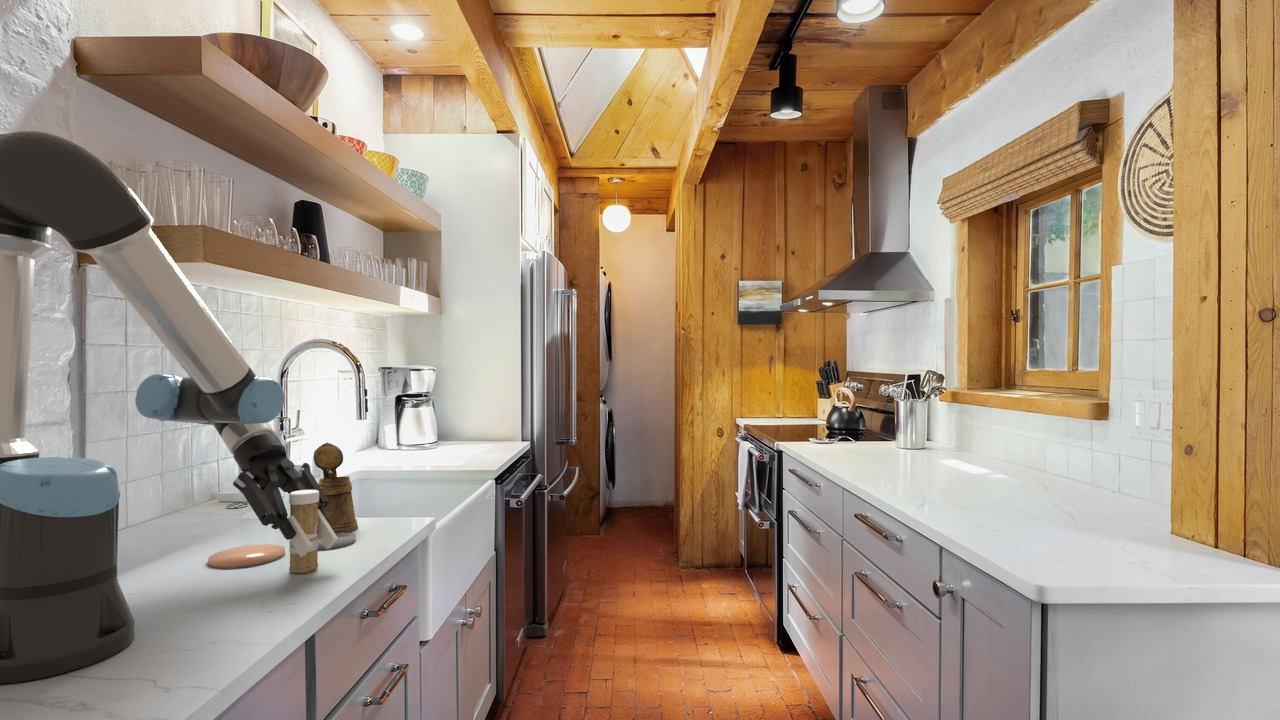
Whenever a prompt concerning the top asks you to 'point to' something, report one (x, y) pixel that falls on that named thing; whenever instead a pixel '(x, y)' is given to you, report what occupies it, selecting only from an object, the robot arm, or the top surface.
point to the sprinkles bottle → (305, 528)
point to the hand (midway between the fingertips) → (319, 547)
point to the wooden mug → (335, 489)
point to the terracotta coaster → (246, 556)
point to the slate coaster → (339, 540)
